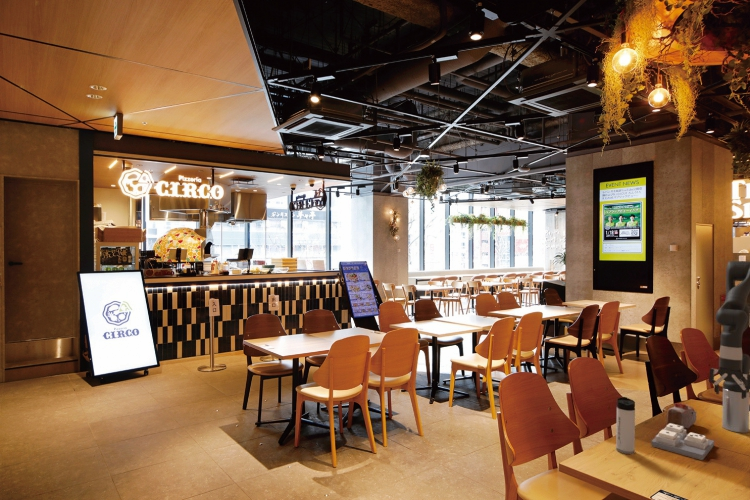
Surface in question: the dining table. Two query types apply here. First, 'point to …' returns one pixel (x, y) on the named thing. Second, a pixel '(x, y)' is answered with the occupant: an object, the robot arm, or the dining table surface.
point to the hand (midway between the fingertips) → (730, 396)
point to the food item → (681, 415)
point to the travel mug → (625, 426)
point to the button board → (683, 445)
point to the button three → (696, 437)
